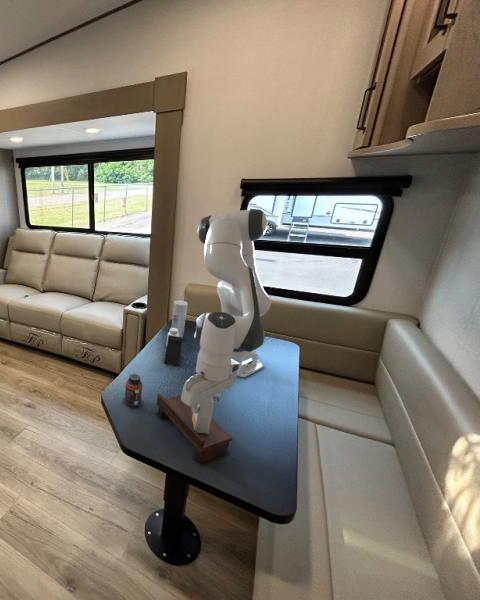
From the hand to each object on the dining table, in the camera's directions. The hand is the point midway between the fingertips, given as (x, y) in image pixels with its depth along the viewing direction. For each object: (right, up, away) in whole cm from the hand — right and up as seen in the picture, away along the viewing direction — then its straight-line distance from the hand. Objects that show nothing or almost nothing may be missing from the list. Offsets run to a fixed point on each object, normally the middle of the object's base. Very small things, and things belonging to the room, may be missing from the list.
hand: (205, 406), depth 96 cm
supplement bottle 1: (-18, -6, +23) cm, 30 cm away
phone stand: (+5, +4, +50) cm, 50 cm away
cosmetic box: (-1, -8, +3) cm, 8 cm away
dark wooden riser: (-2, -12, +9) cm, 15 cm away
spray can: (+12, +12, +70) cm, 72 cm away
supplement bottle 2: (+8, +9, +61) cm, 62 cm away
